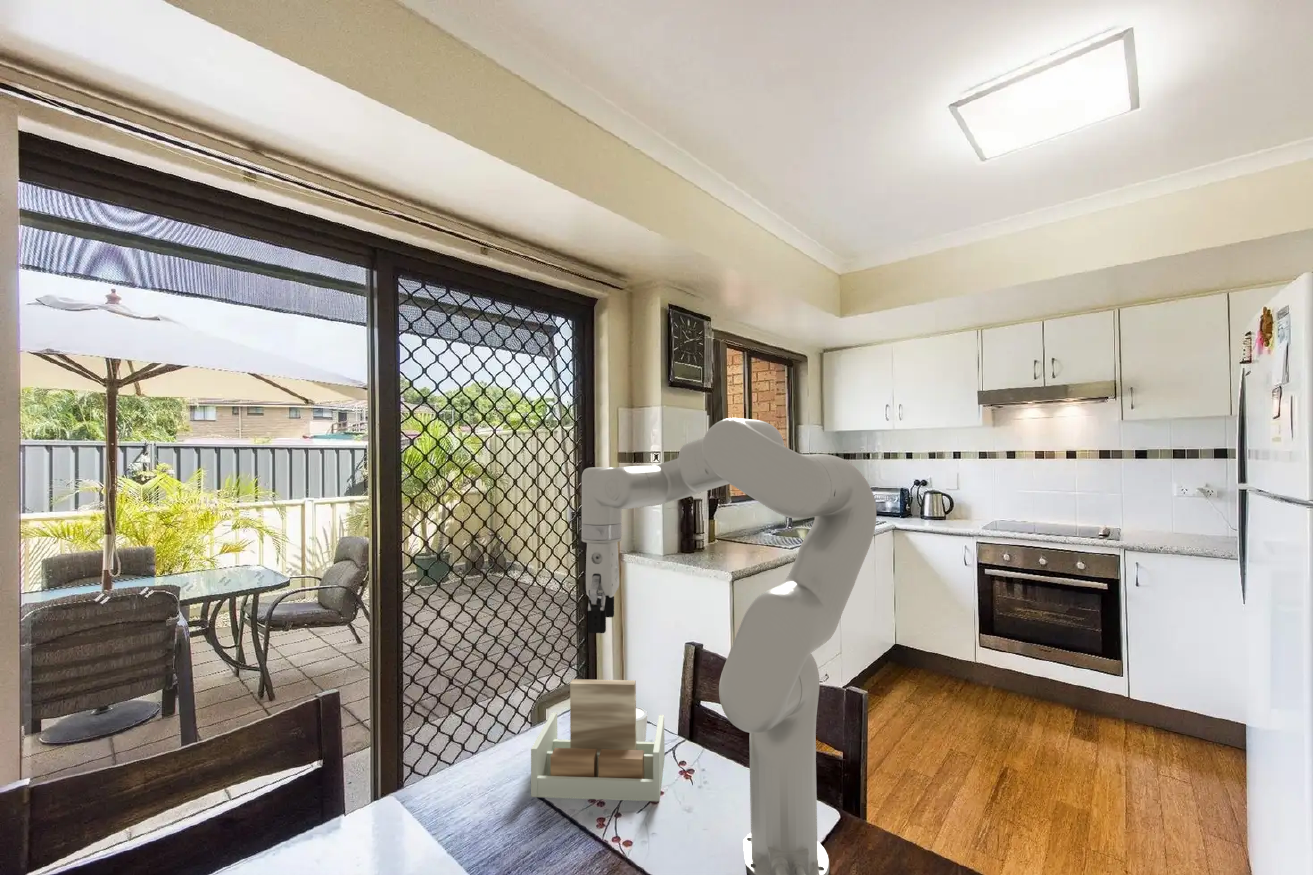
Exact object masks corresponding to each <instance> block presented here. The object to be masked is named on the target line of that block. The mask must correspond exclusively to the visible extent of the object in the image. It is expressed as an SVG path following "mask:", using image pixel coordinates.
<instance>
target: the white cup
mask: <svg viewBox="0 0 1313 875" xmlns="http://www.w3.org/2000/svg"><path fill="white" fill-rule="evenodd" d="M648 714H649V713H648V711H647V710H646V709H644V708H643V707H640V706H636V741H638V742H646V739H647V738H646V737H647V728H648V727H647V726H648V716H649V715H648Z"/></svg>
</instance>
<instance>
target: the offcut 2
mask: <svg viewBox="0 0 1313 875" xmlns="http://www.w3.org/2000/svg"><path fill="white" fill-rule="evenodd" d="M598 770H599V778H629V779H644V750H614V749H601V752H600V755H599V758H598Z"/></svg>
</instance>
